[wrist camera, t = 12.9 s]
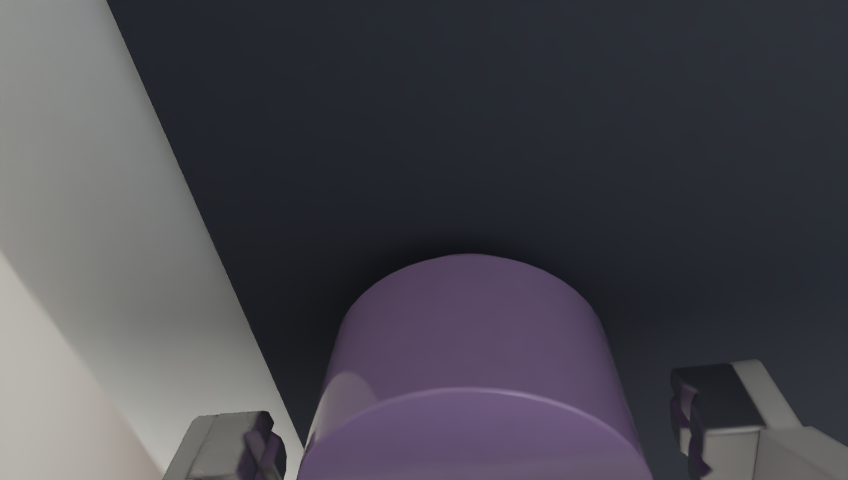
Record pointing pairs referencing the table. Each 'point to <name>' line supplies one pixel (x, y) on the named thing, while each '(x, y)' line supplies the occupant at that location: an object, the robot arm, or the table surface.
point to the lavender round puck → (472, 382)
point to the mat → (526, 171)
